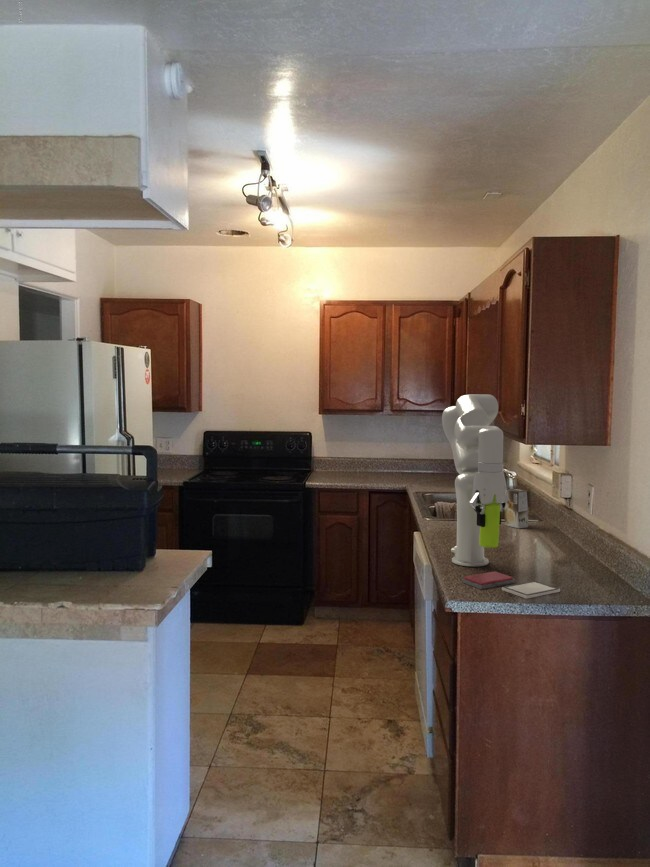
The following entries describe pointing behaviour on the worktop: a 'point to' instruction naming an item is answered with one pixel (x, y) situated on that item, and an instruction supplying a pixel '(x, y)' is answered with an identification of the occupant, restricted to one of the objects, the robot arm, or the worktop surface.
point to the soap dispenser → (490, 526)
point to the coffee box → (517, 508)
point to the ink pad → (488, 580)
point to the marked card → (530, 589)
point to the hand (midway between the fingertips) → (488, 524)
